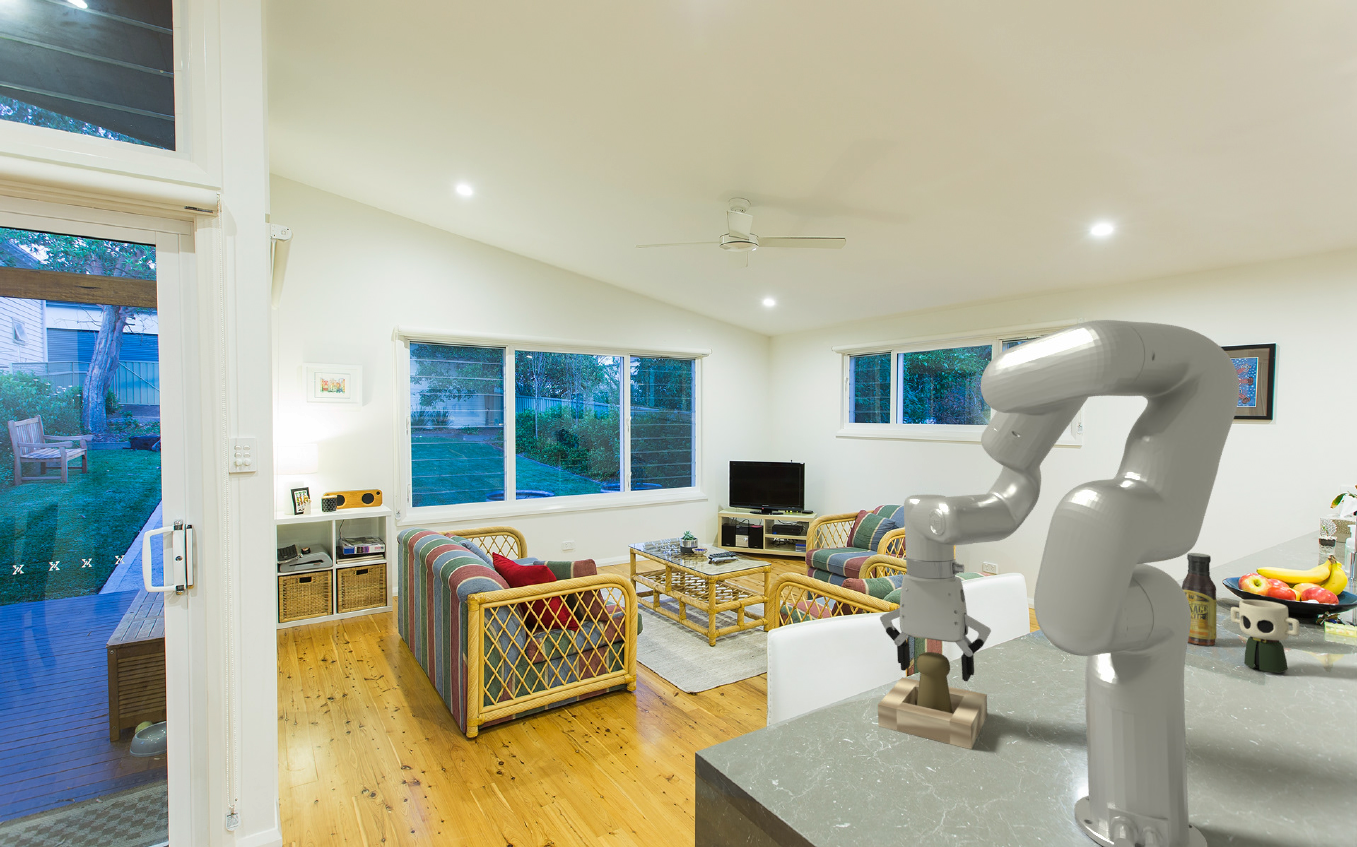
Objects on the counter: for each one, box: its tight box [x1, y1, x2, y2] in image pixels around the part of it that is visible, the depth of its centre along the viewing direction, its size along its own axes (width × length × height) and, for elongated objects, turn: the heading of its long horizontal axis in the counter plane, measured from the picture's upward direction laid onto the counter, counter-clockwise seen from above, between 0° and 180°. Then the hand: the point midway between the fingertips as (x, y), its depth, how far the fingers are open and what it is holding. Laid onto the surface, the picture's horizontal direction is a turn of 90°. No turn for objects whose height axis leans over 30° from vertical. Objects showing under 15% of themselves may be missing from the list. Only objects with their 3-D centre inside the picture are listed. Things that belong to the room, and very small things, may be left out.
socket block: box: [877, 677, 988, 750], centre depth 104 cm, size 14×14×4 cm
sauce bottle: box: [1181, 552, 1218, 647], centre depth 140 cm, size 6×6×20 cm
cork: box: [916, 651, 953, 714], centre depth 104 cm, size 6×6×11 cm
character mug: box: [1230, 599, 1301, 673], centre depth 124 cm, size 11×7×13 cm, turn 22°
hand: (935, 673), depth 103 cm, fingers open, 9 cm apart
